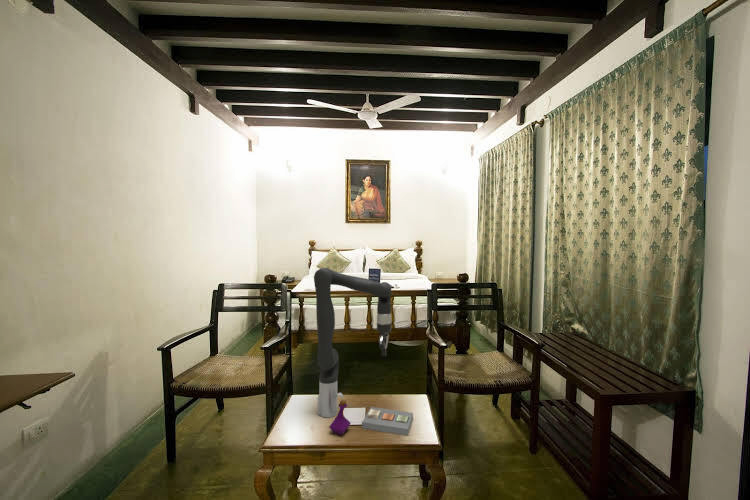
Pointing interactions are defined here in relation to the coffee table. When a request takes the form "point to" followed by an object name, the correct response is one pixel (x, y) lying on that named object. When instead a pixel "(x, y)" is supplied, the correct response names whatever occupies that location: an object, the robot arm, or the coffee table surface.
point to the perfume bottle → (340, 419)
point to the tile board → (388, 422)
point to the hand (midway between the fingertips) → (383, 355)
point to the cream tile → (374, 414)
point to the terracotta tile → (388, 417)
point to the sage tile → (402, 419)
